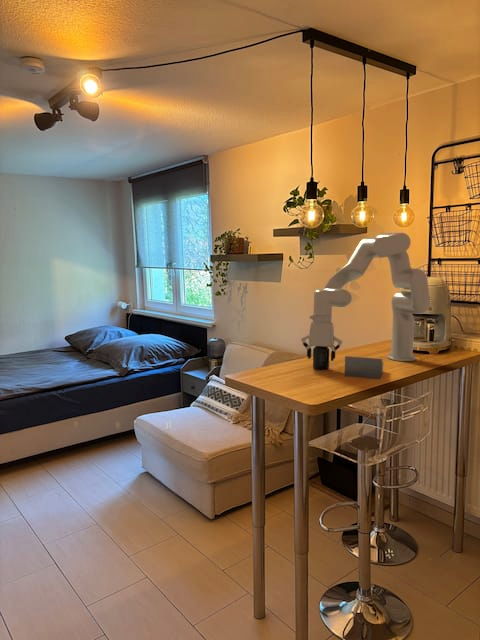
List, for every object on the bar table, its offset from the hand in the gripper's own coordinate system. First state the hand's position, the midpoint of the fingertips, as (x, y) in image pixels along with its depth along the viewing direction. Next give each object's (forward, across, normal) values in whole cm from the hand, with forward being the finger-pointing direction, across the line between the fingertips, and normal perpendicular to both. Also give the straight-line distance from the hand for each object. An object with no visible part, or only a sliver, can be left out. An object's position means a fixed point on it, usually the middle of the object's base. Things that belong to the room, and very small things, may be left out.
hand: (320, 359), depth 197 cm
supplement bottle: (+4, 0, 0) cm, 4 cm away
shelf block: (+4, +18, -2) cm, 19 cm away
